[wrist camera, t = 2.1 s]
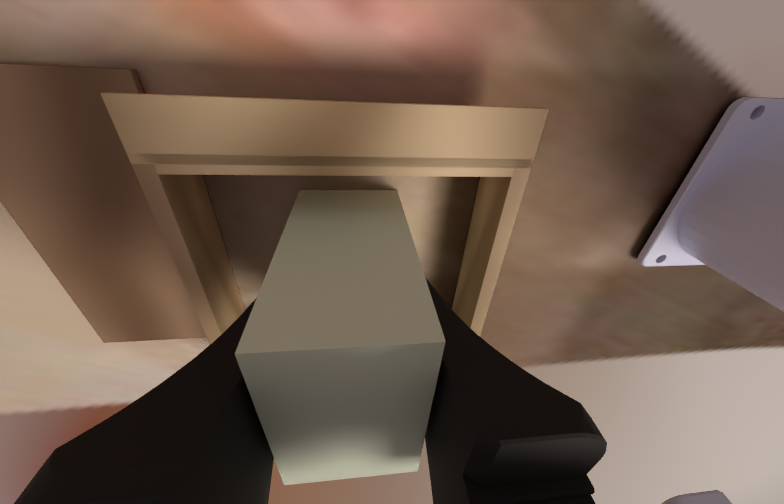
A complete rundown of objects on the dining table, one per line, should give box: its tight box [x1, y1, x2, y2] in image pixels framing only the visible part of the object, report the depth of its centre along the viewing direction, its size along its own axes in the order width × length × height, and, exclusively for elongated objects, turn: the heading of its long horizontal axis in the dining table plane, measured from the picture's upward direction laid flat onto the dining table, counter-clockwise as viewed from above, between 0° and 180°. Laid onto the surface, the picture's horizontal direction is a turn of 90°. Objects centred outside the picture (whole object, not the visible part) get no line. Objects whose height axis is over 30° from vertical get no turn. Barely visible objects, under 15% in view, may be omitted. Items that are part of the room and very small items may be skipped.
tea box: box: [235, 190, 445, 485], centre depth 11 cm, size 4×6×8 cm
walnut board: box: [0, 63, 207, 343], centre depth 12 cm, size 6×12×1 cm, turn 177°
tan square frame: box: [100, 92, 549, 345], centre depth 13 cm, size 12×13×2 cm
